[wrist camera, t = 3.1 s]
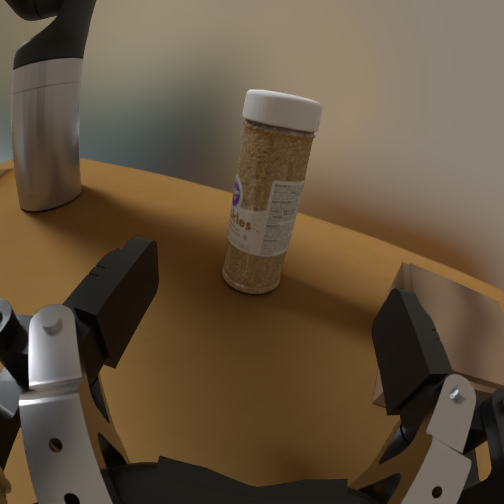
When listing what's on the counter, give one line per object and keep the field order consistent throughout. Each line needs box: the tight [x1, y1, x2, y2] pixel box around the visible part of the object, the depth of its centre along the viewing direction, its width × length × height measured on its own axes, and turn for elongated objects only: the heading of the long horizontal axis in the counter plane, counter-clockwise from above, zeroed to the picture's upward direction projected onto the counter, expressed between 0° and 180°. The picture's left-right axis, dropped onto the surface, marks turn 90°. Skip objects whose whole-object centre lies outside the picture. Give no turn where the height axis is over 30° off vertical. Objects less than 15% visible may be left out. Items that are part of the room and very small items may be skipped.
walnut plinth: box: [372, 262, 504, 407], centre depth 15 cm, size 11×11×4 cm
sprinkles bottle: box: [222, 90, 322, 294], centre depth 18 cm, size 5×5×14 cm
